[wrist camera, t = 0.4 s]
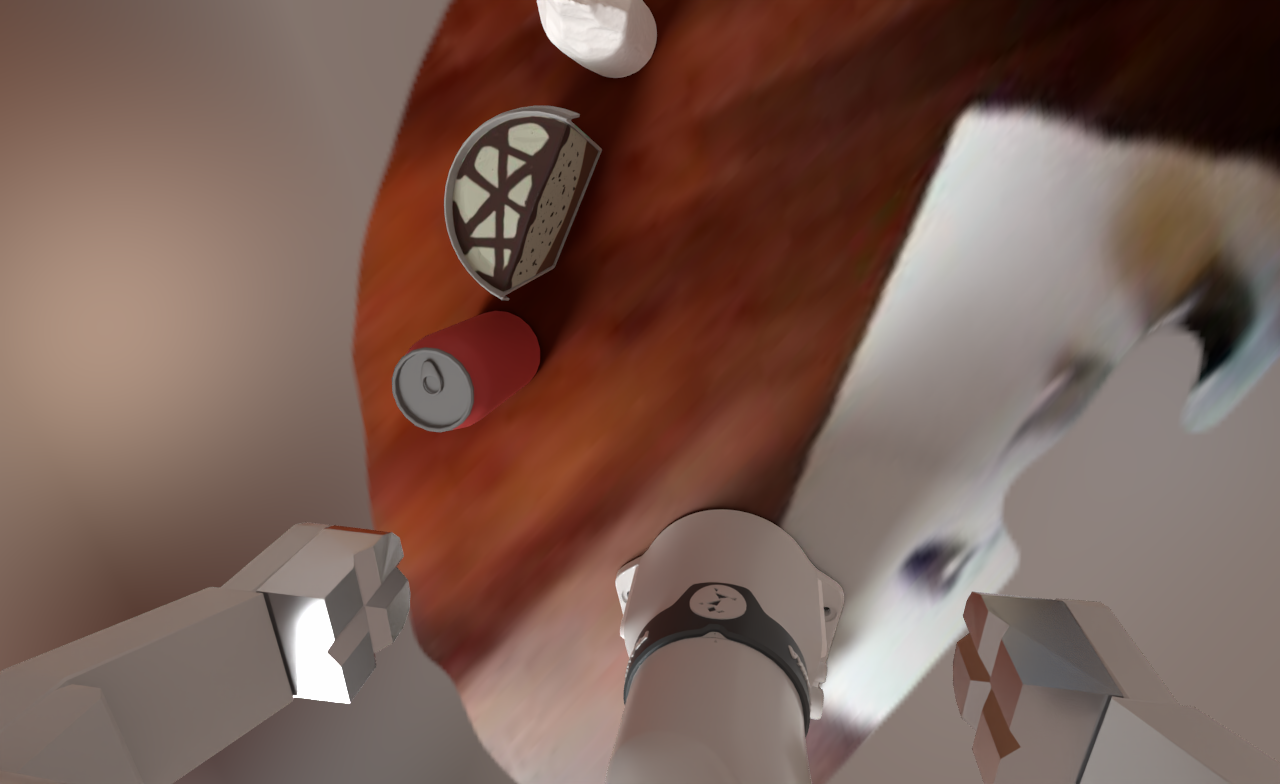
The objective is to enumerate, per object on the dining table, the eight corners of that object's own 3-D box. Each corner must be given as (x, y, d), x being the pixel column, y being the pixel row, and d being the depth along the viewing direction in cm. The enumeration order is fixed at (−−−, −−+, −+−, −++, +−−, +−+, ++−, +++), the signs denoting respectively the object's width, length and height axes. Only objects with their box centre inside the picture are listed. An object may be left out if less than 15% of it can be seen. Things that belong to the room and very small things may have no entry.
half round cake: (533, 91, 46) (474, 62, 36) (610, 128, 46) (570, 109, 36) (477, 250, 50) (410, 262, 41) (547, 285, 50) (496, 305, 40)
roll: (638, -52, 32) (590, 62, 33) (671, 14, 43) (634, 97, 45) (532, -109, 32) (490, 8, 34) (593, -28, 43) (559, 56, 45)
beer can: (537, 306, 50) (471, 336, 39) (548, 387, 52) (488, 439, 41) (459, 311, 52) (374, 343, 40) (473, 390, 53) (394, 441, 42)
